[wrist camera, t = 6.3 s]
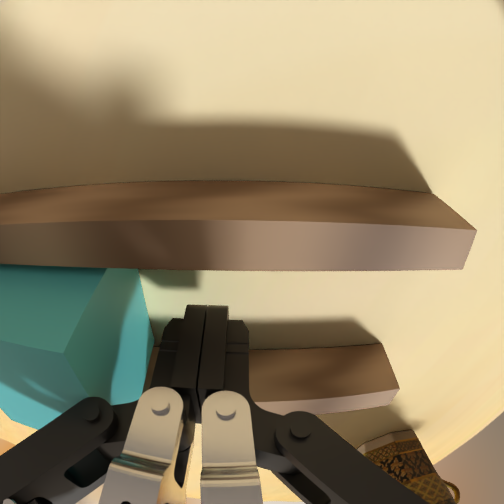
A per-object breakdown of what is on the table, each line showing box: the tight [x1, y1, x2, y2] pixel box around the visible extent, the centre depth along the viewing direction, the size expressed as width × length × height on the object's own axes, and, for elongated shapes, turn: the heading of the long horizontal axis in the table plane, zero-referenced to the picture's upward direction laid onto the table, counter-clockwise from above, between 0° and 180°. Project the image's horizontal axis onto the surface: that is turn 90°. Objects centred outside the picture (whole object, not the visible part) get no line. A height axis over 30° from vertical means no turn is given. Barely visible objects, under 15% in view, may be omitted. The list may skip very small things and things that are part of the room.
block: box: [0, 264, 155, 430], centre depth 10 cm, size 6×6×6 cm
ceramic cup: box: [356, 430, 460, 504], centre depth 20 cm, size 13×10×10 cm
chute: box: [0, 181, 477, 415], centre depth 11 cm, size 20×10×3 cm, turn 88°
